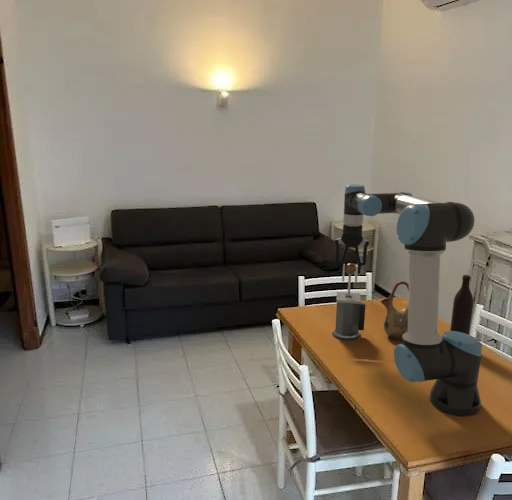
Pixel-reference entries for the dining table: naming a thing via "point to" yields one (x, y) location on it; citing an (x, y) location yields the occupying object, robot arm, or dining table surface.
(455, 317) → the wine bottle
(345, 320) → the french press
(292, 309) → the dining table surface
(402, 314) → the ceramic vessel
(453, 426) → the dining table surface
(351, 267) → the plunger
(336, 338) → the trivet
